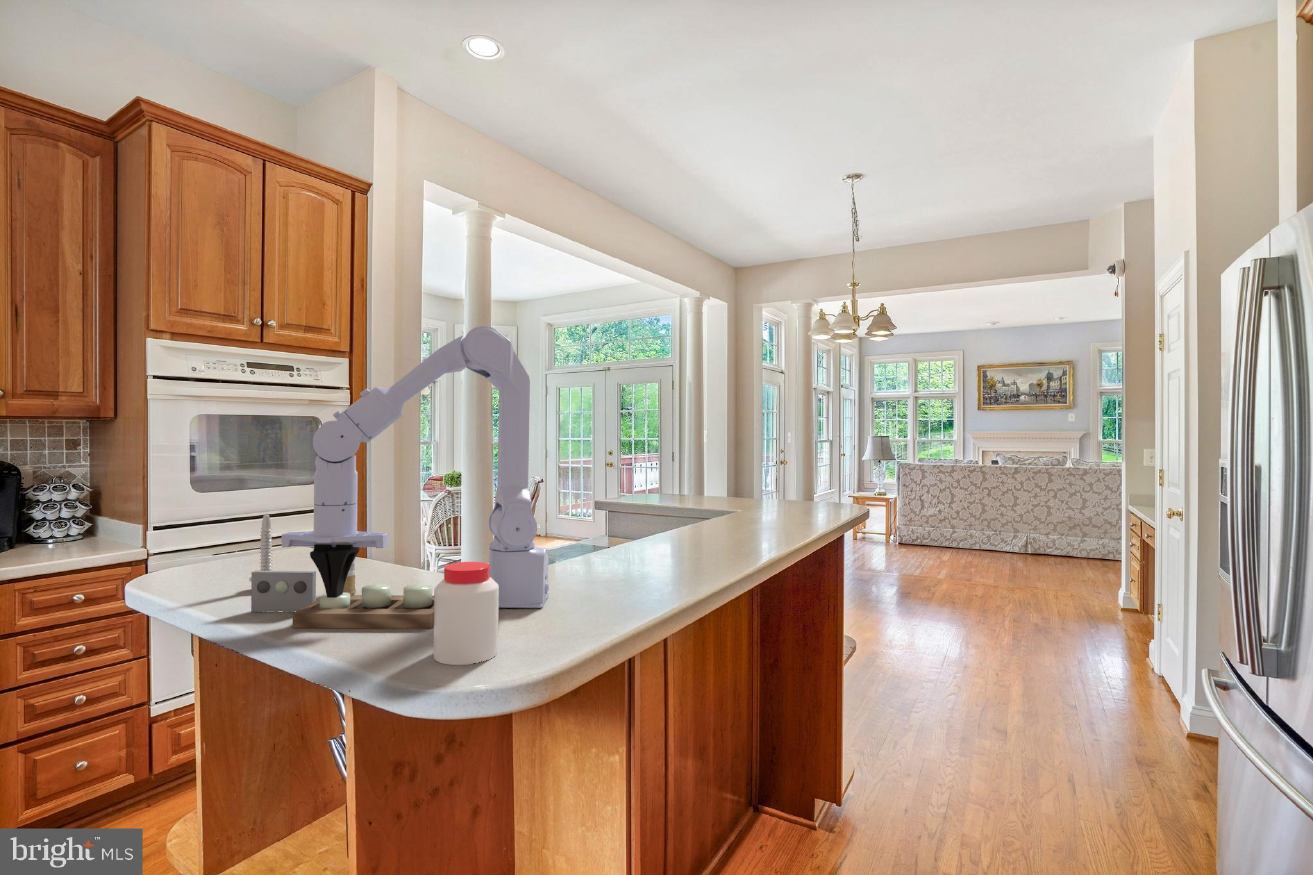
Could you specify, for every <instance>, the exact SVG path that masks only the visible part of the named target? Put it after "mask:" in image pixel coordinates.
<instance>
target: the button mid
mask: <svg viewBox="0 0 1313 875" xmlns="http://www.w3.org/2000/svg"><path fill="white" fill-rule="evenodd" d="M361 595H362V607H366V608H378V607H384V606H388V605H390V604H391V595H392V585H391V584H388V583H375V584H369V585H364V586H362V587H361Z"/></svg>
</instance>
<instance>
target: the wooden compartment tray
mask: <svg viewBox="0 0 1313 875" xmlns="http://www.w3.org/2000/svg"><path fill="white" fill-rule="evenodd" d="M432 628H434V595H432V605H430V606H427V607H422V608H406V607H404V606H403V595H395V594H393V595H392V594H391V604H390V605H388V606H384V607H378V608H366V607H362V594H353V595H350V606H348V607H347V608H345V609H320V598H319V599H317V600H316V601H315V602H313V603H311V604H309V605H307V606H306V607H304V608H302V609H300V610H298V611H296V612H292V629H427V630H428V629H429V630H430V629H432Z"/></svg>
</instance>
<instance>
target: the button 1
mask: <svg viewBox="0 0 1313 875" xmlns="http://www.w3.org/2000/svg"><path fill="white" fill-rule="evenodd" d="M319 599H320V609H345V608H347V607H348V606H350V594H349V593H345V592H343V594H342V595H340V596H339V597H336V598H327V594H326V593H325V594H322V595H320V597H319Z"/></svg>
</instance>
